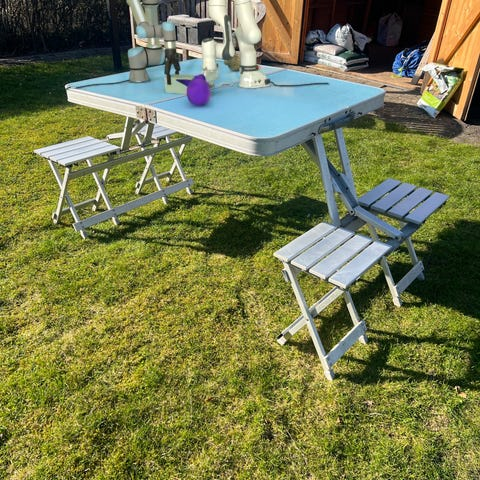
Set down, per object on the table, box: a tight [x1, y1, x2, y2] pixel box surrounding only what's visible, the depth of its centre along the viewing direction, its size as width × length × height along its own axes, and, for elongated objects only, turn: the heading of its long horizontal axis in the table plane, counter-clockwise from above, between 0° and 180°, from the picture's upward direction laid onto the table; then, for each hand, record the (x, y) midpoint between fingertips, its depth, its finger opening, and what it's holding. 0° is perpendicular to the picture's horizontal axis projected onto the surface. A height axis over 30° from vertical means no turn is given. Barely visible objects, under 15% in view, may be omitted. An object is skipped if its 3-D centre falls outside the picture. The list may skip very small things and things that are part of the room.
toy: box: [176, 73, 212, 107], centre depth 271 cm, size 16×18×27 cm
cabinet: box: [163, 73, 198, 95], centre depth 302 cm, size 20×12×10 cm, turn 70°
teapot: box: [223, 50, 240, 72], centre depth 366 cm, size 21×12×15 cm, turn 120°
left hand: (173, 82), depth 304 cm, fingers closed on cabinet, 11 cm apart
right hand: (210, 88), depth 297 cm, fingers closed, pressing on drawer
